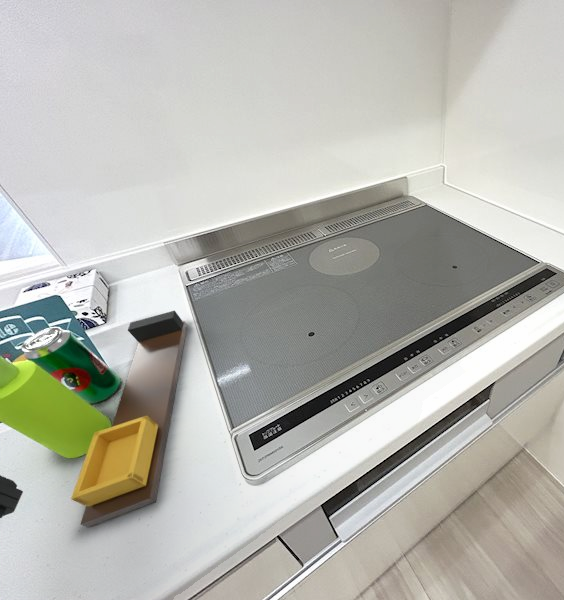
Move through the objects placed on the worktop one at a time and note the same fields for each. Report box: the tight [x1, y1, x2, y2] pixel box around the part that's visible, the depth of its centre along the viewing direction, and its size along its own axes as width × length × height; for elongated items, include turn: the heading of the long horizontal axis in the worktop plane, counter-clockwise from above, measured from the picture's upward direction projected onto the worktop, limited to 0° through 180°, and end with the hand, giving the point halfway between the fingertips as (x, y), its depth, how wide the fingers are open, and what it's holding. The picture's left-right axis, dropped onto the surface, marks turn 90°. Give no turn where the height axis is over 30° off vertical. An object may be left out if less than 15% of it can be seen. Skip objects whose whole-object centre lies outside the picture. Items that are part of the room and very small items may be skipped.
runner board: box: [80, 320, 188, 528], centre depth 48 cm, size 31×7×1 cm, turn 20°
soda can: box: [20, 326, 121, 404], centre depth 47 cm, size 5×5×12 cm
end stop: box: [127, 310, 184, 343], centre depth 57 cm, size 2×7×3 cm, turn 110°
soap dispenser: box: [0, 355, 112, 459], centre depth 39 cm, size 6×7×20 cm
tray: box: [70, 416, 158, 507], centre depth 40 cm, size 8×6×3 cm
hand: (5, 507), depth 27 cm, fingers closed
